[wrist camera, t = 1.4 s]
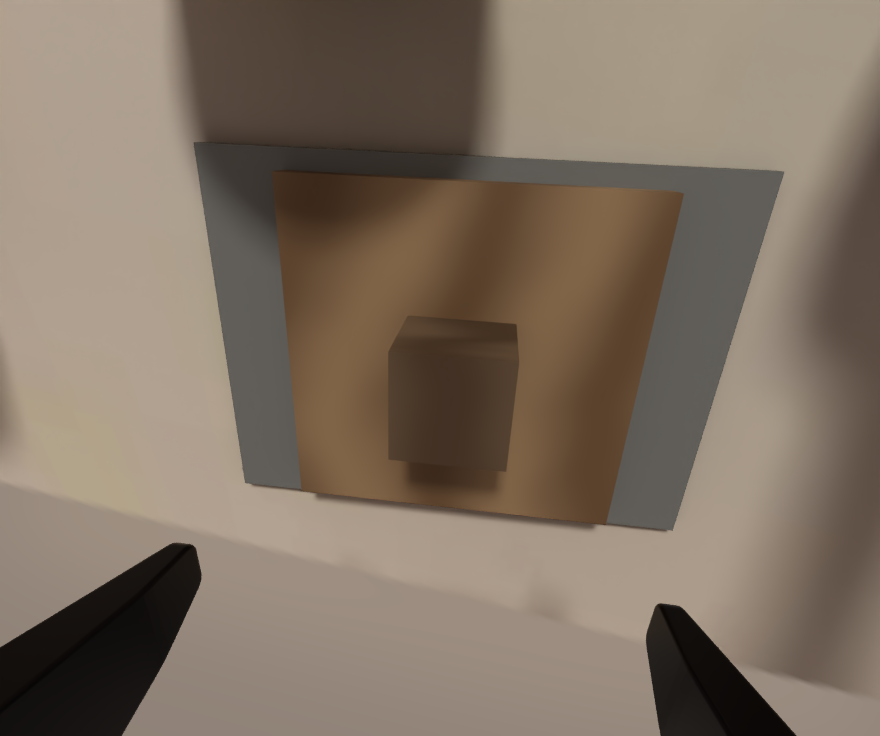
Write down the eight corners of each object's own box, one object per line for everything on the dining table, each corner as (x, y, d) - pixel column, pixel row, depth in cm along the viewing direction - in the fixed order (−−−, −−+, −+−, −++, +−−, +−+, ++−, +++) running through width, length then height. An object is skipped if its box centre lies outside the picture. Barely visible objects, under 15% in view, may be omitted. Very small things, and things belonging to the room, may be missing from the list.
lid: (674, 190, 17) (730, 206, 12) (601, 509, 22) (623, 591, 18) (283, 169, 18) (218, 178, 14) (309, 477, 23) (268, 548, 19)
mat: (776, 170, 16) (784, 171, 16) (669, 522, 23) (672, 530, 22) (201, 142, 18) (193, 142, 18) (249, 476, 24) (245, 482, 24)
